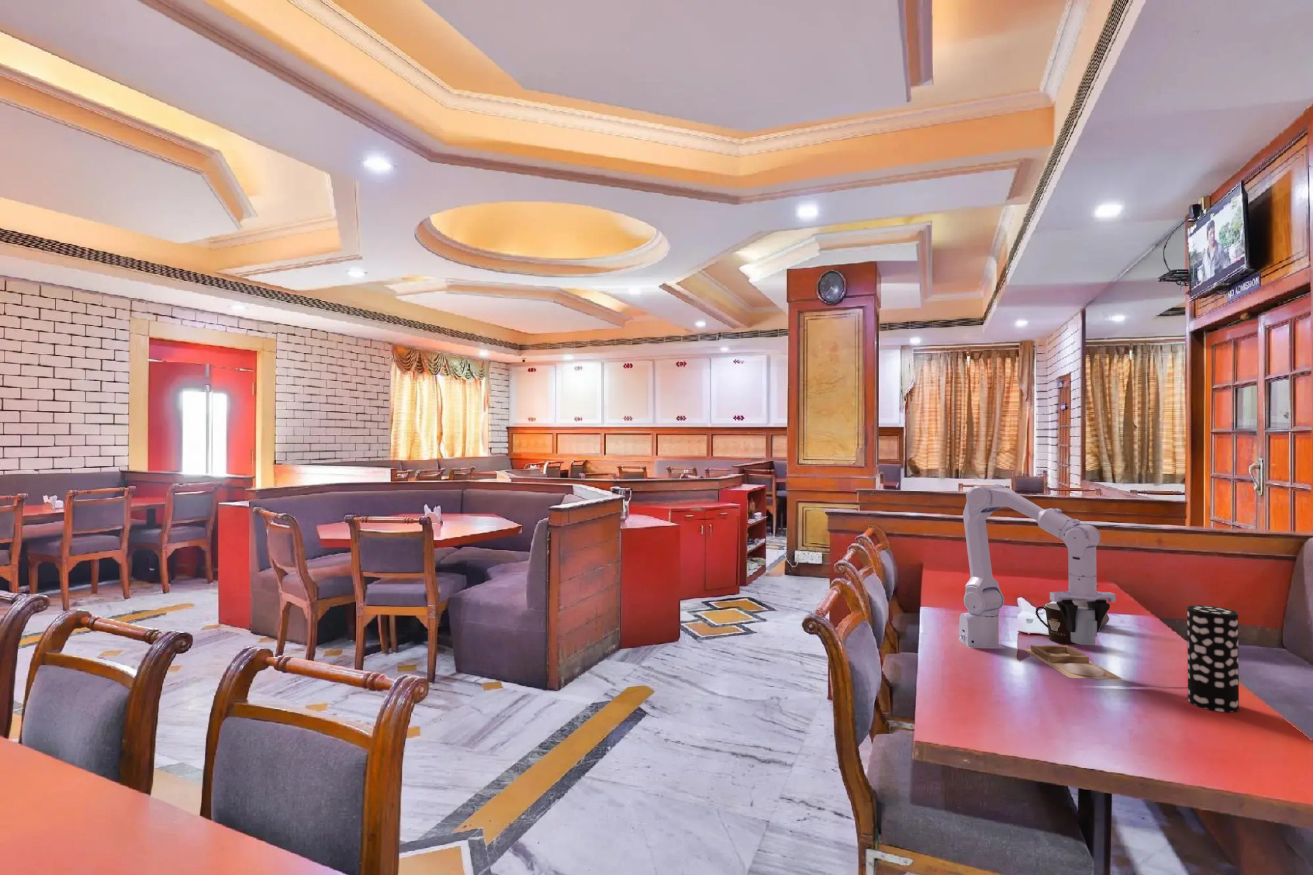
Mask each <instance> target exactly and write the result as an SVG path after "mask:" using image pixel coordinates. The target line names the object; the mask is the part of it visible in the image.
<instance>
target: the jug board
mask: <svg viewBox="0 0 1313 875" xmlns="http://www.w3.org/2000/svg"><path fill="white" fill-rule="evenodd" d="M1022 651H1024V652H1026V653H1028V654H1029V655H1031V656H1033V657H1034V658H1036V659H1038V660H1039V661H1041V662H1042V663H1043V664H1046V665H1047V666H1049V667H1051V668H1052V669H1054V670H1056V671H1058V672H1059V673H1061V674H1063V676H1066V677H1068V678H1069V679H1092V680H1093V679H1097V680H1099V679H1104V680H1105V679H1109V680H1123V678H1122V677H1120V675H1119V676H1118V675H1117V674H1115V673H1113V672H1111V671H1109V670H1107V669H1105V668H1104V667H1101V666H1100V665H1098V664H1096V663H1095V662H1093V661H1090V656H1088V655H1086V654H1084V653H1083V652H1080V651H1079V650H1076V649H1074V648H1073V647H1071V646H1068V645H1063V644H1059V645H1055V644H1054V645H1053V644H1052V645H1048V644H1046V645H1045V644H1041V645H1040V644H1037V645H1036V644H1031V645H1030V648H1022Z"/></svg>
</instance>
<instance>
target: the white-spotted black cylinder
mask: <svg viewBox="0 0 1313 875" xmlns="http://www.w3.org/2000/svg"><path fill="white" fill-rule="evenodd" d="M1186 612H1187V618H1186V619H1187V620H1186V621H1187V622H1186V624H1187V626H1186V628H1187V629H1186V630H1187V632H1186V633H1187V634H1186V636H1187V645H1186V646H1187V701H1188V702H1189V703H1191V705H1194V706H1196V707H1198V708H1202V709H1204V710H1209V711H1214V712H1220V713H1236V711H1237V712H1238V711H1239V710H1240V692H1239V691H1240V689H1239V688H1240V683H1239V680H1240V679H1239V677H1240V676H1239V675H1240V673H1239V672H1240V671H1239V664H1240V663H1239V612H1237V611H1235V610H1232V609H1229V608H1225V607H1220V606H1212V605H1199V604H1197V605H1196V604H1195V605H1188V606H1186Z"/></svg>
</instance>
